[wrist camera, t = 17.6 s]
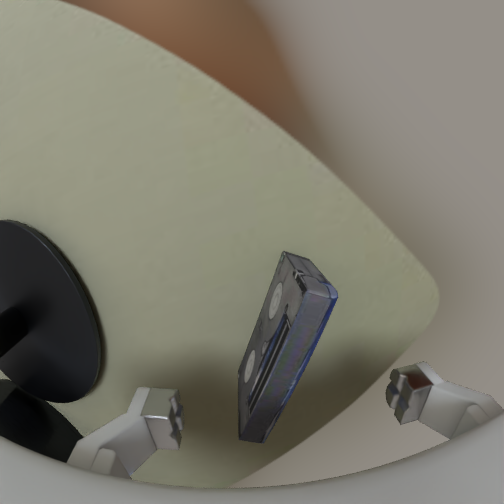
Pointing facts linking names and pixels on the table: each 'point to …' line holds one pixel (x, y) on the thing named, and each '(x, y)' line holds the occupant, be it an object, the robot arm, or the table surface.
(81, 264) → the table surface
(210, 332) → the table surface
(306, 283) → the mini dv tape
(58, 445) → the waste tin
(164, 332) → the table surface
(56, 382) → the tin lid
